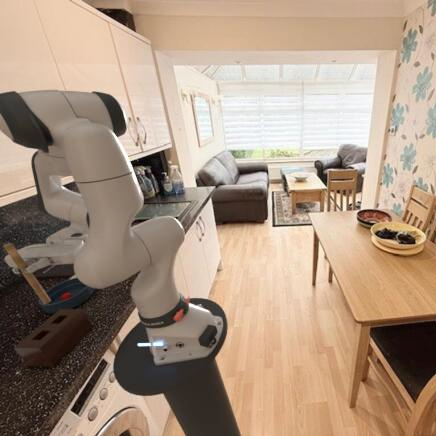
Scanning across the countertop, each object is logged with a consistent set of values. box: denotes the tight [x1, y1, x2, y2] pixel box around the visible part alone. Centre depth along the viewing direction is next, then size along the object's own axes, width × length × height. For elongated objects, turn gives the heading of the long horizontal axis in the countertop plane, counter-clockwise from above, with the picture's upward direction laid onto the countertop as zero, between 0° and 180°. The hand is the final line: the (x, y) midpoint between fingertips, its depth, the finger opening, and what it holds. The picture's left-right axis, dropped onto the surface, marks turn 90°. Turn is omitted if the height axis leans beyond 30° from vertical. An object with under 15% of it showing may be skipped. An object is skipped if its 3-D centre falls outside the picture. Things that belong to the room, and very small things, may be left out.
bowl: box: [38, 278, 96, 315], centre depth 91 cm, size 15×15×5 cm
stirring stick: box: [2, 242, 51, 304], centre depth 66 cm, size 2×2×20 cm
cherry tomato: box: [61, 293, 72, 301], centre depth 90 cm, size 3×3×3 cm
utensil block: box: [13, 308, 94, 368], centre depth 72 cm, size 8×14×8 cm, turn 176°
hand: (21, 271), depth 64 cm, fingers closed on stirring stick, 1 cm apart
